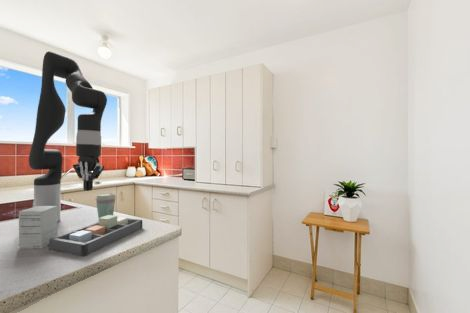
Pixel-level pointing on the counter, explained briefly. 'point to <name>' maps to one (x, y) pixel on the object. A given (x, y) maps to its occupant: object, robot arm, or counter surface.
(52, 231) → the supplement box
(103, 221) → the pale green cube
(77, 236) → the pale blue cube
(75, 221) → the counter surface
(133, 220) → the grey compartment tray
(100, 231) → the orange cube
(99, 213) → the coffee cup
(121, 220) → the cream cube
